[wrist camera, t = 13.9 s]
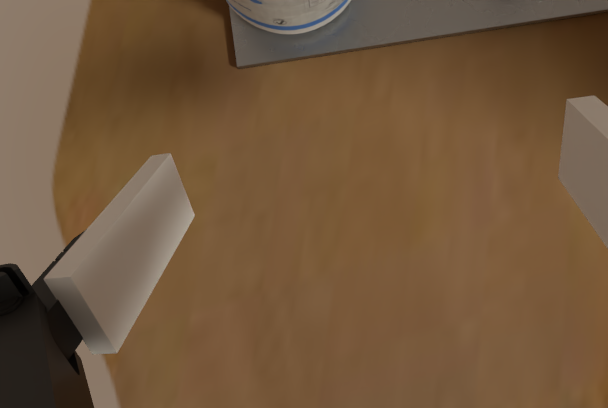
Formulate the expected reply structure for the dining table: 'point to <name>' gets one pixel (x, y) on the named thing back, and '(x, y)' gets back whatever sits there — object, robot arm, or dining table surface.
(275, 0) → the supplement tub
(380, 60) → the dining table surface
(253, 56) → the grey flat rectangular plate
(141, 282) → the robot arm
